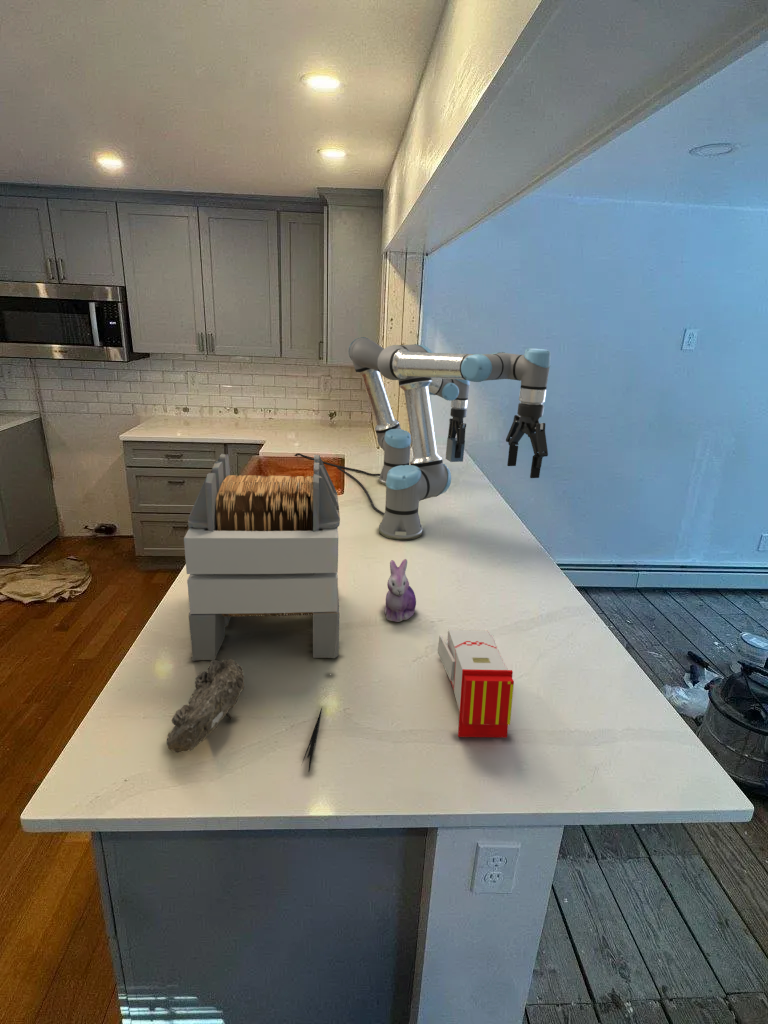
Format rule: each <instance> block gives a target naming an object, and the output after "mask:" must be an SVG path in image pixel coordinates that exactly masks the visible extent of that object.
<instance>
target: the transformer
mask: <svg viewBox="0 0 768 1024" xmlns="http://www.w3.org/2000/svg"><path fill="white" fill-rule="evenodd" d="M313 458H314V460H313V473H312V474H313V475H307V476H303V475H296V476H294V475H293V476H291V475H268V476H267V475H265V476H263V475H251V474H250V475H236V474H233V475H232V474H231V469H230V457H229V454H228V453H226V454H225V453H220V455H219V457H218V459H217V461H214V464H213V466H212V468H211V471H210V472H208V473H207V474H206V476H205V479H204V481H203V483H202V485H201V488H200V490H199V492H198V495H197V497H196V500H195V502H194V503H193V506H192V508H191V510H190V513H189V516H188V518H187V527H188V530H187V532H186V534H185V535H184V537H183V545H184V556H185V570H186V575H188V578H187V580H186V581H187V582H186V583H187V591H188V592H187V593H188V594H187V595H188V605H189V606H188V608H189V612H188V622H189V623H188V625H189V637H190V644H191V654H192V656H191V660H192V661H195V662H199V661H212V660H216V658H217V655H218V653H219V651H220V649H221V647H222V644H223V643H224V640H225V638H226V627H229V623H230V620H231V617H250V616H251V617H280V616H282V617H284V616H285V617H286V616H296V617H297V616H312V658H313V659H318V658H319V659H320V658H321V659H324V658H327V659H336V658H337V657H339V656H340V599H339V577H338V573H339V572H338V571H339V530H338V529H339V527H340V525H341V524H340V522H341V516H340V515H341V514H340V506H339V505H340V504H339V497H338V491H337V489H336V487H335V485H334V483H333V481H332V479H331V477H330V474H329V472H328V470H327V468H326V466H325V464H323V462H322V461H323V459H322V458H321V456H320V454H313Z"/></svg>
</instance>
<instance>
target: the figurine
mask: <svg viewBox="0 0 768 1024" xmlns="http://www.w3.org/2000/svg"><path fill="white" fill-rule="evenodd" d="M407 567H408V559H406V558H404V559H403V560H402V561H401V563H400V565H399V566H398V565H397V563H396V562H395V561H394V560H393V559H391V560H390V561H389V570H390V576H389V578H388V579H387V589H388V591H387V592H386V594H385V595H386V596H385V607H384V615H385V616H386V620H387V621H391V622H395V623H400V622H402V621H406V620H409V619H410V618H411V617H413V616H414V615H415V610H416V606H417V597H416V593H415V591H414V590H413V587H411V586H410V582H409V579H408V577H407V574H406V571H407Z"/></svg>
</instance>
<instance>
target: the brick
mask: <svg viewBox="0 0 768 1024" xmlns="http://www.w3.org/2000/svg"><path fill="white" fill-rule="evenodd" d="M446 438H447V439H446V450H445V460H447V461H448V462H450V463H459V462H460V463H461V462H462V463H463V462H464V455H465V445H466V443H465V444H463V445H462V448H461V458H455V449H456V444H457V437H455V438H448V437H446Z"/></svg>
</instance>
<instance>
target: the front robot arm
mask: <svg viewBox="0 0 768 1024" xmlns="http://www.w3.org/2000/svg"><path fill="white" fill-rule="evenodd" d="M551 357H552V353H551V351H550V350H549V349H546V348H545V349H544V348H526V349H525V350H524V354H518V353H509V352H504V351H501V352H500V351H498V352H497V351H496V352H495V351H494V352H491V353H451V352H433V351H432V349H430V348H429V347H428V346H426V345H423V344H417V343H415V344H392V345H389V346H387V347H385V348H384V349H383V350H382V351H381V353H380V355H379V357H378V362H377V363H378V369H379V371H380V375H381V376H382V377H384V378H385V379H387V380H389V381H398V387H399V388H400V389H402V390H403V392H404V399H405V406H406V407H405V408H406V413H407V418H408V428H409V433H410V435H411V448H412V456H413V458H412V460H410V463H409V465H404V466H403V465H400V466H396V467H393V468H391V469H390V470H389V471H388V473H387V480H386V485H385V504H384V505H385V507H384V508H385V509H384V511H382V510H380V509H378V508H377V507H376V506H375V505H374V502H373V500H372V498H371V496H370V494H369V491H367V489H366V488H365V486H364V484H362V482H360V480H359V479H358V478H356V477H355V476H353V475H352V474H351V473H349V472H347V471H346V470H345V469H342V468H339V467H336V469H337V470H339V471H340V472H342V473H344V474H346V475H347V476H348V477H350V478H351V479H352V480H354V481H355V482H356V483H357V484H358V485H359V486H360V487H361V488H362V490H363V491H364V493H365V495H366V497H367V499H368V501H369V504H370V505H371V507H372V509H373V510H374V511H375V512H376V513H378V514H380V515H382V519H381V522H379V525H378V533H379V534H380V535H381V536H382V537H385V538H387V539H389V540H395V541H410V540H415V539H418V538H420V537H421V536H422V535H423V525H422V524H421V518H420V515H419V507H420V506H419V505H420V502H421V501H423V500H427V499H430V498H436V497H438V496H440V495H443V494H445V493H446V492H447V491H448V490H449V488H450V486H451V483H452V473H451V470H450V469H449V467H448V466H447V464H445V463H444V461H443V457H441V456H440V455H439V454H438V449H437V441H436V433H435V427H434V419H433V412H432V404H431V398H430V394H429V390H428V387H429V385H430V383H431V382H432V380H431V378H442V379H460V380H468V381H470V383H471V382H473V383H481V382H486V381H499V380H511V381H512V380H513V381H519V382H520V388H519V396H518V401H519V403H518V405H517V414H515V415H514V416H513V421H512V423H511V426H510V429H509V431H508V433H507V435H506V437H505V442H506V443H508V446H509V448H508V456H507V464H506V466H507V467H517V460H518V451H519V444H520V443H519V442H520V440H522V438H523V437H524V435H527V437H528V438H529V440H530V443H531V448H532V451H533V455H532V459H531V467H530V474H529V479H539V478H540V475H541V468H542V464H543V458H544V457H548V456H549V451H548V443H547V435H546V422H540V418H542V417H543V416H544V410H545V405H544V403H546V395H547V388H548V381H549V374H550V368H551V359H552V358H551Z"/></svg>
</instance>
